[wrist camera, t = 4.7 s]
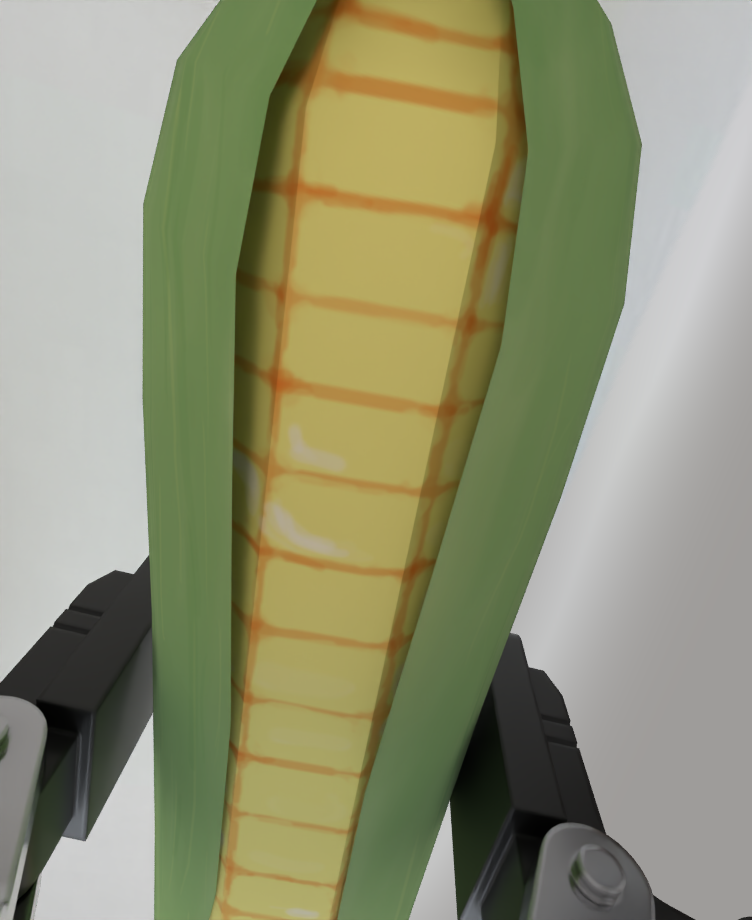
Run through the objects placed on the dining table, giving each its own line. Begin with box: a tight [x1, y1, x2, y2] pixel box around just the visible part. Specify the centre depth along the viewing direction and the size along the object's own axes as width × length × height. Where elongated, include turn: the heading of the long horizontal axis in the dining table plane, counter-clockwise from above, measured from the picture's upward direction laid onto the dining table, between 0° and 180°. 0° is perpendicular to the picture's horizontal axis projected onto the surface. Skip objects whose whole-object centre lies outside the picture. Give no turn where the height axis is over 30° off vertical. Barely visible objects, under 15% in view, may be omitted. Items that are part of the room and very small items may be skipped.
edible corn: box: [143, 0, 642, 920], centre depth 9 cm, size 5×20×5 cm, turn 170°
